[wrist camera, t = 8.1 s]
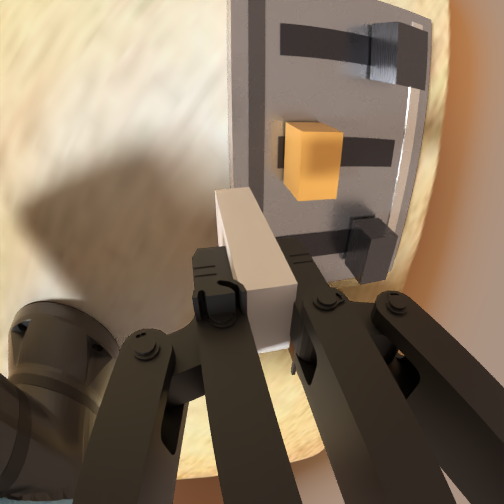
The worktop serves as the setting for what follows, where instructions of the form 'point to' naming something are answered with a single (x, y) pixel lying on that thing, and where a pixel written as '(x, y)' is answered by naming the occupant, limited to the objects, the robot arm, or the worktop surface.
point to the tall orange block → (312, 160)
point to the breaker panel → (330, 120)
